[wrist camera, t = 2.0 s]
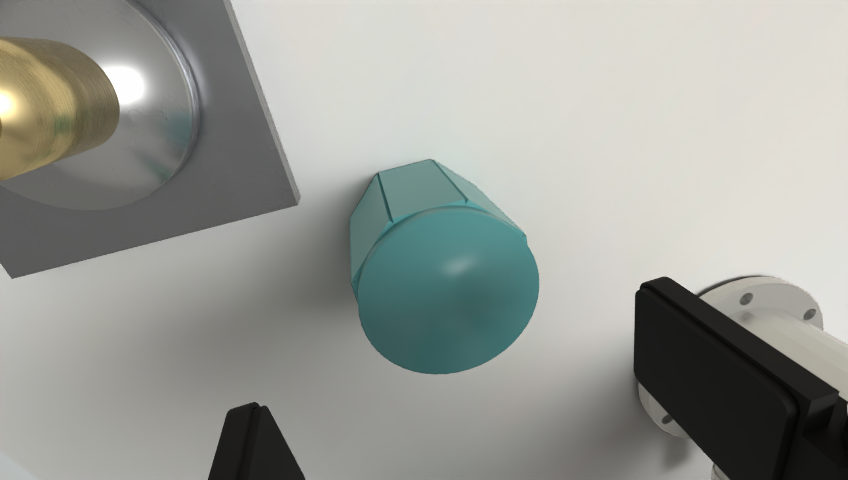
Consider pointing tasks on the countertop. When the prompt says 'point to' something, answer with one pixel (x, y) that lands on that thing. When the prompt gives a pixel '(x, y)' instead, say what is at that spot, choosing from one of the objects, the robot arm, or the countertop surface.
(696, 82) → the countertop surface
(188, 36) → the acorn nut on plate
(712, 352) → the robot arm
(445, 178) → the cap
